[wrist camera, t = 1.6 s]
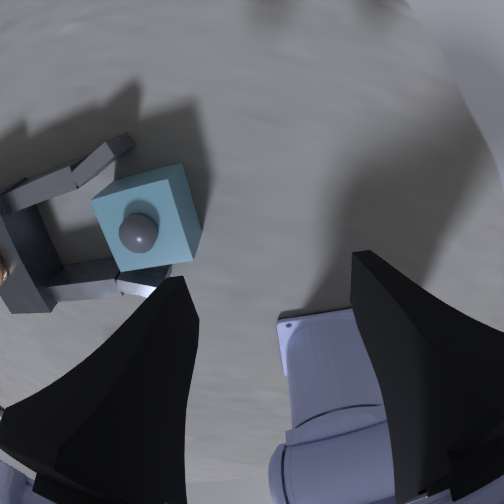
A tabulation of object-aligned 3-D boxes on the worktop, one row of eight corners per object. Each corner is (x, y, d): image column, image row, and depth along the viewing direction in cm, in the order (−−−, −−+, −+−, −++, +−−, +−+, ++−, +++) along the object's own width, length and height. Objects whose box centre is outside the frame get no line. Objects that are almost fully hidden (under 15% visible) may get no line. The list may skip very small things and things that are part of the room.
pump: (182, 161, 17) (163, 183, 14) (202, 231, 20) (191, 267, 16) (115, 180, 18) (84, 205, 14) (138, 243, 20) (116, 278, 17)
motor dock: (130, 131, 16) (92, 148, 12) (175, 273, 21) (158, 320, 17) (-12, 193, 17) (-48, 218, 13) (33, 290, 23) (8, 323, 19)
